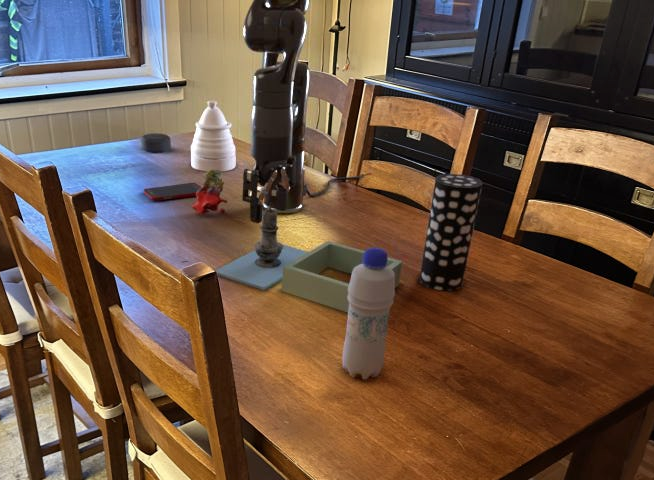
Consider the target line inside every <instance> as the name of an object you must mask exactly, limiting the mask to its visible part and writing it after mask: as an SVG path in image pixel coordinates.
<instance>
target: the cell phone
mask: <svg viewBox="0 0 654 480" xmlns="http://www.w3.org/2000/svg"><path fill="white" fill-rule="evenodd" d="M201 188H202V185H199V184H198V183H196V182H188V183H181V184H173V185H172V184H170V185H164V186H156V187H149V188H144V189H143V191H142V192H143V194H144V195H145V196H146V197H148V198H149V199H150V200H151V201H152V202H159V201H166V200H173V199H181V198H187V197H194V196H195V197H197V196H196V192H197V191H198V190H199V189H201Z"/></svg>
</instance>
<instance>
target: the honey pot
mask: <svg viewBox="0 0 654 480" xmlns="http://www.w3.org/2000/svg"><path fill="white" fill-rule="evenodd" d="M217 104H218V101H217V100H207V107H206V108H205V110H204V111H203V113H202V114H201V116H200V119H199V120H198V121H196V123H195V127H196V129H195V133H194V134H193V139H192V143H191V145H190V162H191V163H190V166H191V167H192V168H193V169H195V170H198V171H201V172H208V171H210V170H213V169H214V170H219V171H220V172H227V171H231V170H233V169H235V168H236V164H237V163H236V162H237V161H236V159H237V157H236V156H237V154H236V150H237V149H236V145H235V144H234V139H233V135H232V133H231V130H230V129H231V128H232V123H231V122H230V121H227V119H226V118H225V115H224V113H223V112H222V110H221V109H220V107H218V106H217Z"/></svg>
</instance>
